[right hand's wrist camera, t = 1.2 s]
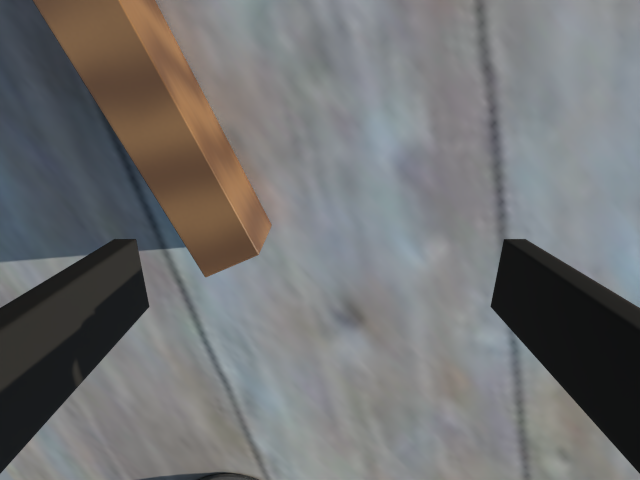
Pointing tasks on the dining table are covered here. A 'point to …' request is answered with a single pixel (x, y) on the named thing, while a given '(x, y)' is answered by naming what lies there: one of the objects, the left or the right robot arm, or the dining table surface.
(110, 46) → the bar
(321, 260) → the dining table surface
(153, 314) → the dining table surface
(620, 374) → the right robot arm
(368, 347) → the dining table surface
